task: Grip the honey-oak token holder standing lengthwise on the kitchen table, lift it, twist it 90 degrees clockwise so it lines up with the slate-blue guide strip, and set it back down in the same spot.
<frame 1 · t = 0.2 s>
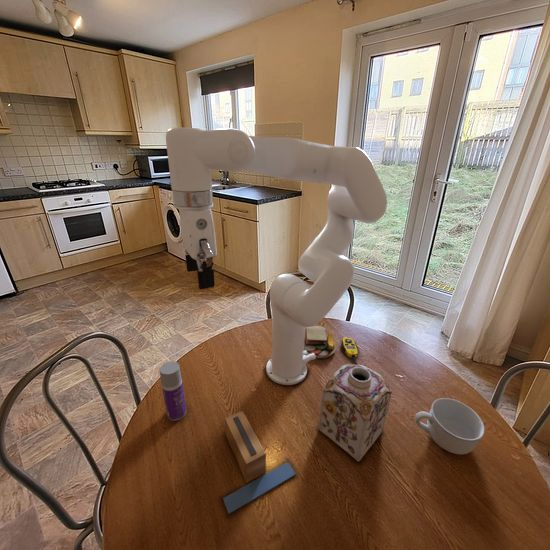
hand: (200, 278, 64), 36 cm above the table, tool pointing down, fingers open, 9 cm apart
teacup: (440, 438, 70), on the table
guide strip: (260, 486, 59), on the table
toy sandwich meal: (316, 347, 101), on the table
decorative jar: (349, 430, 72), on the table
token holder: (244, 453, 66), on the table
container: (177, 413, 75), on the table
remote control: (351, 355, 97), on the table
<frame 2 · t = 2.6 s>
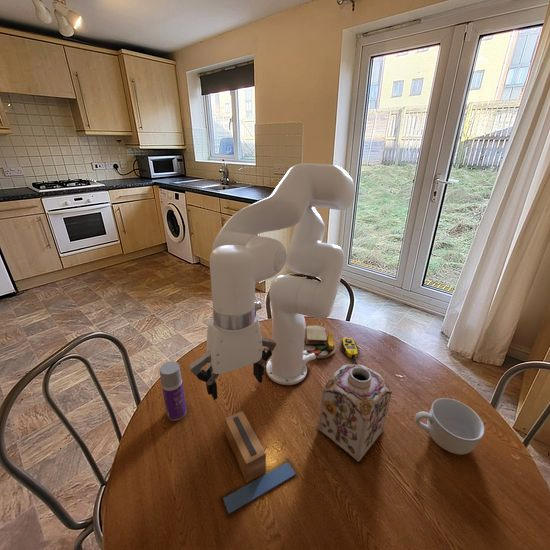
hand: (236, 386, 59), 19 cm above the table, tool pointing down, fingers open, 9 cm apart
nothing on the table moved.
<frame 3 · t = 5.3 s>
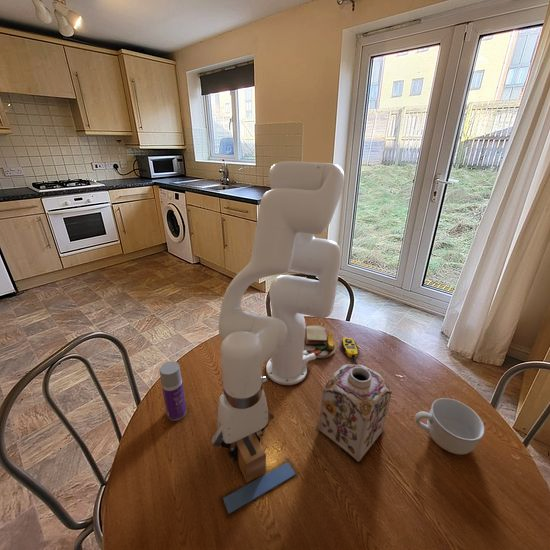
hand: (244, 450, 65), 1 cm above the table, tool pointing down, fingers closed on token holder, 4 cm apart
token holder: (244, 453, 66), on the table, touching gripper
everything else where it was.
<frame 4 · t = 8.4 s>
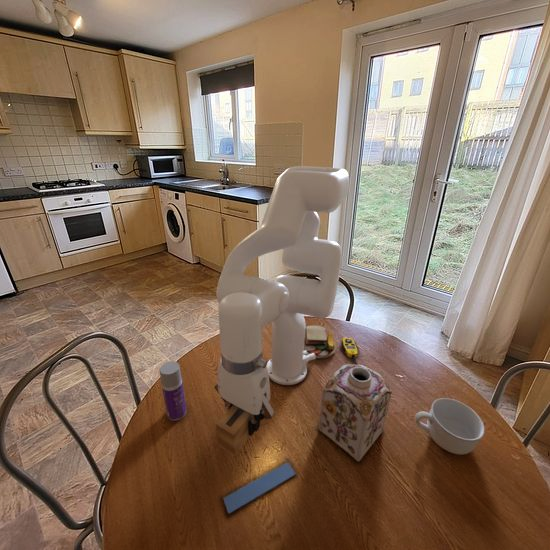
hand: (244, 424, 62), 9 cm above the table, tool pointing down, fingers closed on token holder, 4 cm apart
token holder: (244, 427, 62), point 8 cm above the table, touching gripper
everything else where it was.
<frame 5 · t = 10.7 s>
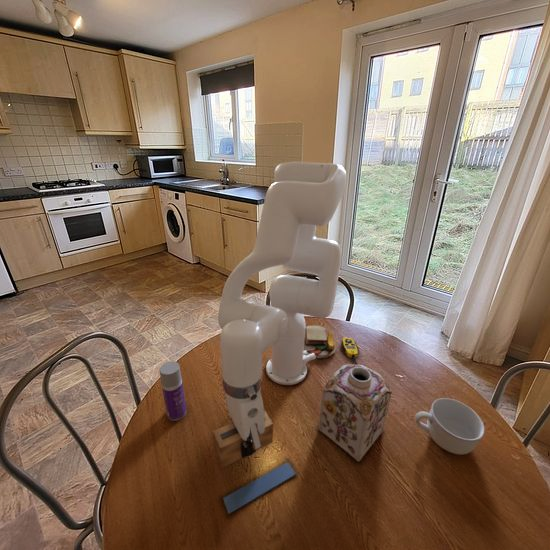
hand: (243, 443, 64), 4 cm above the table, tool pointing down, fingers closed on token holder, 4 cm apart
token holder: (243, 446, 64), point 3 cm above the table, touching gripper
everything else where it was.
when the fingers open (1 cm above the table, at t = 11.9 s): token holder stays where it is, on the table.
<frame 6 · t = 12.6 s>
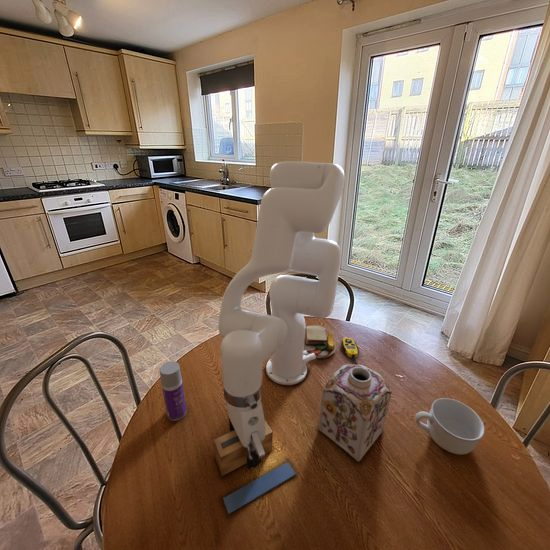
hand: (244, 445, 65), 2 cm above the table, tool pointing down, fingers open, 9 cm apart
token holder: (244, 453, 66), on the table
everything else where it was.
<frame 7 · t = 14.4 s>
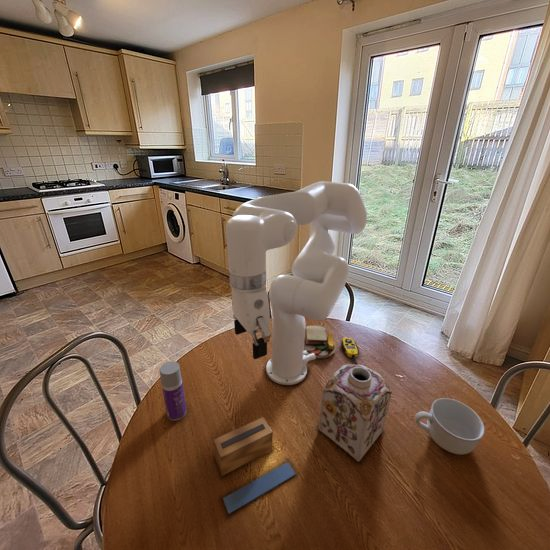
hand: (250, 343, 67), 22 cm above the table, tool pointing down, fingers open, 9 cm apart
nothing on the table moved.
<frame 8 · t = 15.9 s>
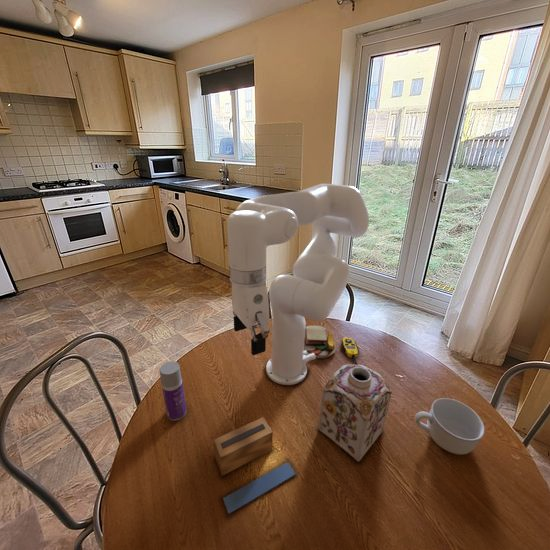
hand: (249, 340, 67), 22 cm above the table, tool pointing down, fingers open, 9 cm apart
nothing on the table moved.
at the end: token holder inside the target area (0.2 cm from its centre), on the table; token holder tilted 0°; the gripper is holding nothing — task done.
